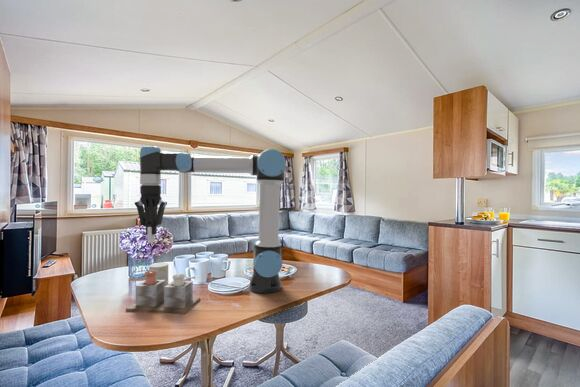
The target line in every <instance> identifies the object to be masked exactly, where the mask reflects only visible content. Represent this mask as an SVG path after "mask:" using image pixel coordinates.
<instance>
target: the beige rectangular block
mask: <svg viewBox="0 0 580 387" xmlns="http://www.w3.org/2000/svg"><path fill="white" fill-rule="evenodd" d="M148 269H149V270H148V271H151V270H156V271H157V274H156V280H165V286H166V285H168V284H169V262H155V263H151V264H150V265H149V268H148Z"/></svg>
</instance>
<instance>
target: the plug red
mask: <svg viewBox="0 0 580 387" xmlns="http://www.w3.org/2000/svg"><path fill="white" fill-rule="evenodd" d="M156 274H157V271H156V270H151V271H149V270H147V271H144V276H145V281H146V285H154V284H156Z"/></svg>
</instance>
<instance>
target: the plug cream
mask: <svg viewBox="0 0 580 387" xmlns="http://www.w3.org/2000/svg"><path fill="white" fill-rule="evenodd" d="M185 277H186V274H185V273H177V274H173V275H172V279H173V281H172V282H173V286H183V285H184V281H185Z"/></svg>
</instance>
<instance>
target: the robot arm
mask: <svg viewBox="0 0 580 387" xmlns="http://www.w3.org/2000/svg"><path fill="white" fill-rule="evenodd" d="M139 152H140V154H139V168H140V171H139V172H140V174H139V176H140V179H139V180H140V184H141V186H140V188H139V189H140V192H139V193H140V198H139V200H138V201H135V202H134V206H135V207H136V209H137V213H138V217H139V221H140V225H141V226H145V234H146V235H147V243H148V244H152V243H155V242H156V235H157V232H158V231H157V230H158V228H157V227H158V226H159V225H162V222H163V219H164V218H163V217H164V212H165V208H166V206H167V204H168V202H167V201H164V200H163V198H162V196H161V195H162V187H161V182H162V180H161V177H162V176H161V174H162V173H161V171H162V172H163V171H164V172H165V171H170V172H171V171H173V172H174V171H175V172H179V173H182V174H187V173H205V174H206V173H213V174H215V173H217V174H224V173H225V174H249V175H251V176H255V177H256V181H257V183H258V184H259V186H260V187H259V207H258V208H259V213H258V216H259V217H258V218H259V219H258V239H257V240H255V241H254V242H253V246H252V248H253V256H252V258H253V266H252V267H253V273H252V275H251V279H250V280H249V281H250V282H249V289H250V291H252V292H253V293H256V294H257V293H258V294H272V293H273V294H274V293H276V292H278V291H280V290H281V289H282V282H281V278H280V276H279V273H280V272H281V270H282V267H283V258H282V245H283V244H282V243H281V242H280V241H279V231H280V230H279V228H280V226H279V225H280V199H281V185H282V184H283V183H284V182H285V180H284V179H285V169H286V166H287V162H286V158H285V156H284V154H283V153H282V152H281V151H279V150H278V149H274V148H268V149H265V150H263V151H262V152H260V153H259V154H251V155H250V156H209V155H203V156H202V155H199V156H198V155H191V153H189V152H182V151H179V152H176V151H175V152H172V151H171V152H165V151H164V152H163V151H162V150H161V147H158V146H147V145H146V146H142V147H140V151H139Z"/></svg>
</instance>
